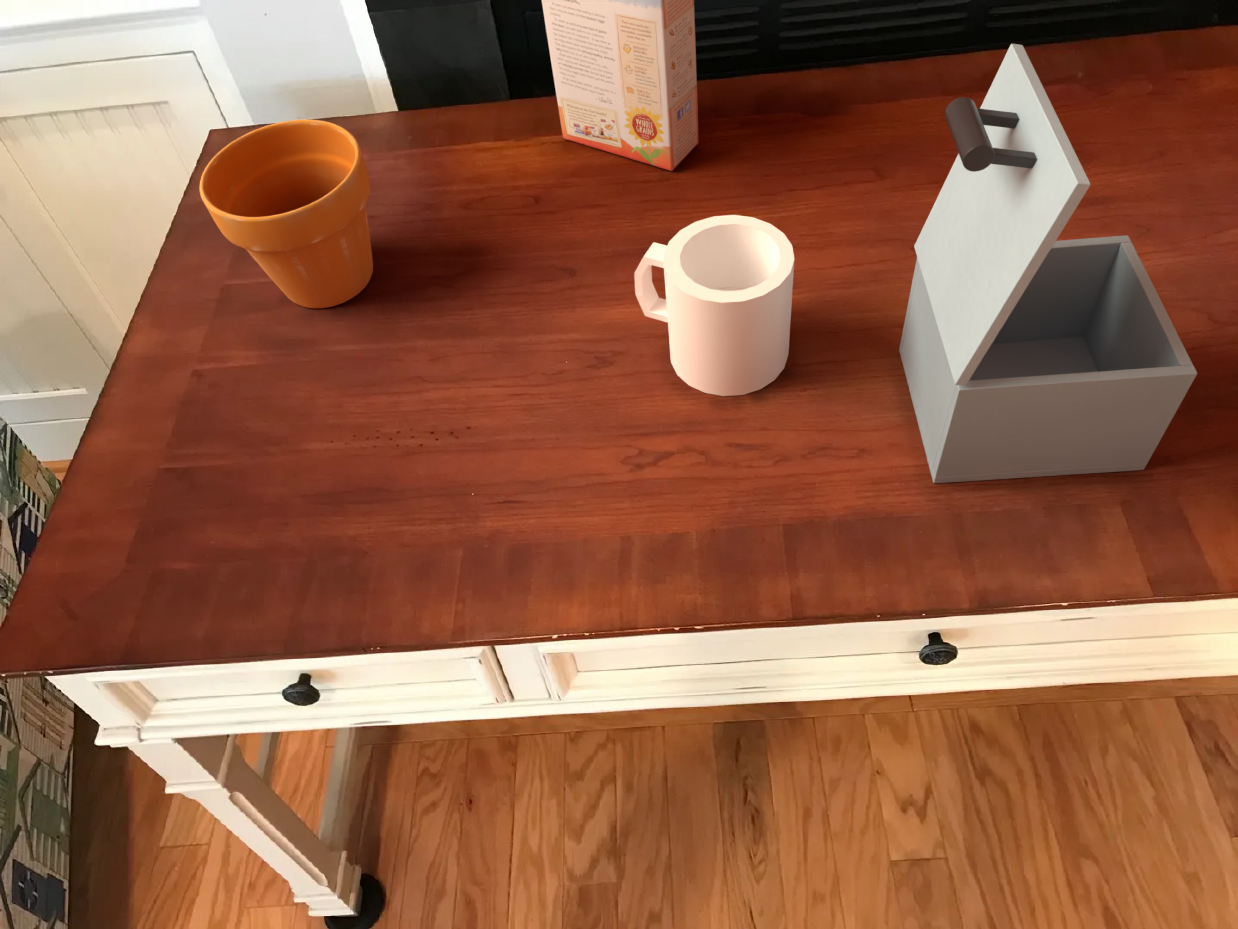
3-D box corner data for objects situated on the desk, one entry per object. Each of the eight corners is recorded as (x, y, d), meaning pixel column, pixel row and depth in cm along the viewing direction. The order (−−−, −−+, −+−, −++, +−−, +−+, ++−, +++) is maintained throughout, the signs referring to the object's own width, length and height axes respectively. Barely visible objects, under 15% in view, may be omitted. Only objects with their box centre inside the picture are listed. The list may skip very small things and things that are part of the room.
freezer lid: (1022, 44, 62) (944, 34, 61) (1091, 184, 53) (1000, 174, 52) (923, 247, 74) (857, 240, 74) (965, 386, 66) (891, 379, 65)
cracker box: (701, 142, 103) (695, -62, 87) (672, 174, 101) (660, -30, 84) (592, 110, 109) (566, -88, 92) (561, 139, 106) (529, -59, 89)
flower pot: (235, 329, 93) (173, 219, 82) (282, 230, 101) (230, 119, 91) (379, 331, 91) (334, 218, 80) (414, 230, 99) (377, 116, 89)
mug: (615, 365, 85) (602, 272, 77) (665, 289, 90) (658, 194, 82) (761, 410, 81) (764, 316, 72) (805, 328, 86) (813, 231, 77)
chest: (1087, 336, 82) (1128, 234, 74) (1143, 470, 74) (1197, 373, 65) (898, 349, 83) (917, 251, 75) (933, 483, 75) (959, 389, 66)
